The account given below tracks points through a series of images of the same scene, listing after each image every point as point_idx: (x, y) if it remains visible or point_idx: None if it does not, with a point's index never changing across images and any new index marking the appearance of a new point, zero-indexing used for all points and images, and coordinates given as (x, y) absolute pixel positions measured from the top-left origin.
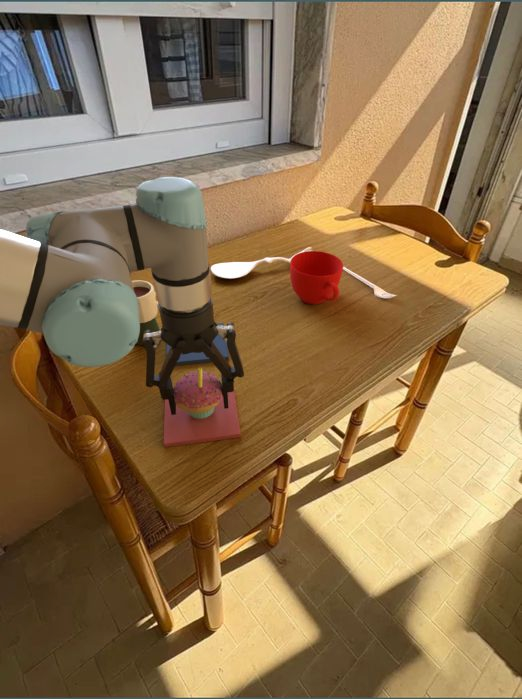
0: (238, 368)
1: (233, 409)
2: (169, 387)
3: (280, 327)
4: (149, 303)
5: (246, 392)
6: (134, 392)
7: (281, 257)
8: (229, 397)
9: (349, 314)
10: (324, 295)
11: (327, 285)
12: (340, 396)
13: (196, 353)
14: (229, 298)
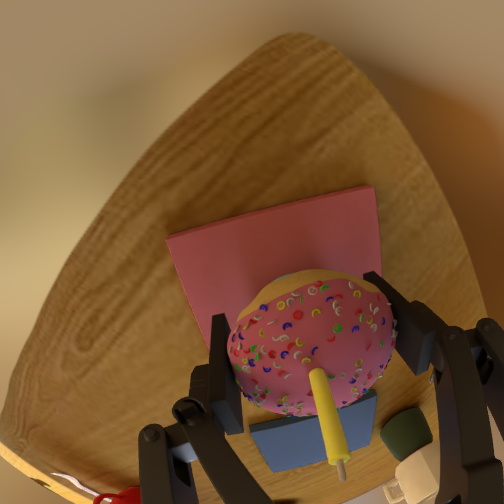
0: (153, 465)
1: (204, 317)
2: (425, 339)
3: None
4: (417, 484)
5: (188, 365)
6: None
7: None
8: None
9: (87, 468)
10: (120, 499)
11: None
12: (23, 351)
13: (318, 426)
14: (270, 491)
